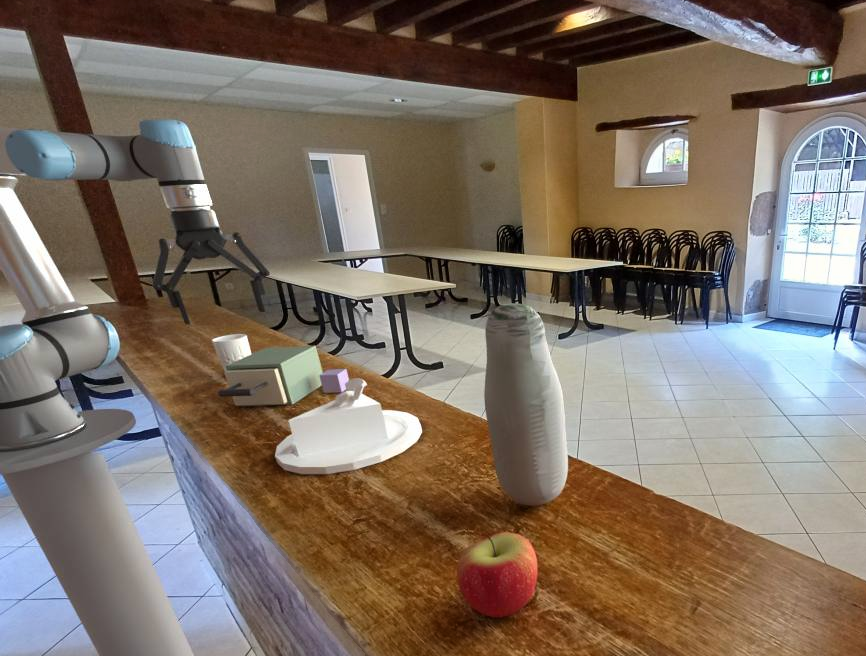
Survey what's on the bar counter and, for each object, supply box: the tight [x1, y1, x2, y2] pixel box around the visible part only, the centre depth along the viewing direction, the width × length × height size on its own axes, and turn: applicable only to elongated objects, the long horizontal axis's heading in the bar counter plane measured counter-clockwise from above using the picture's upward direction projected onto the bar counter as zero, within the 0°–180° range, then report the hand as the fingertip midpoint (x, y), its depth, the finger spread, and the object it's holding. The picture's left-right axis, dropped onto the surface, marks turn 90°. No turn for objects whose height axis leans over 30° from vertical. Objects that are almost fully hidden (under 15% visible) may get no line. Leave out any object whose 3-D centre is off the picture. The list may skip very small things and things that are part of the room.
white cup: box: [211, 333, 252, 372], centre depth 146 cm, size 8×8×10 cm
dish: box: [274, 377, 423, 475], centre depth 100 cm, size 25×25×11 cm
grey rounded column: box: [483, 303, 569, 507], centre depth 74 cm, size 10×10×28 cm
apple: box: [456, 532, 538, 618], centre depth 58 cm, size 8×8×10 cm
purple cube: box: [319, 368, 350, 394], centre depth 130 cm, size 4×4×4 cm
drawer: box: [217, 367, 287, 407], centre depth 124 cm, size 20×11×8 cm, turn 177°
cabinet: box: [226, 345, 324, 407], centre depth 128 cm, size 15×13×10 cm
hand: (226, 317), depth 116 cm, fingers open, 13 cm apart
